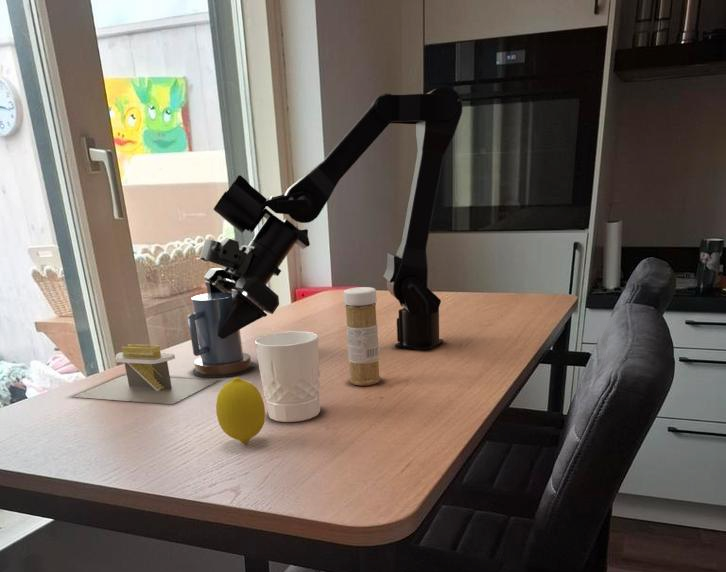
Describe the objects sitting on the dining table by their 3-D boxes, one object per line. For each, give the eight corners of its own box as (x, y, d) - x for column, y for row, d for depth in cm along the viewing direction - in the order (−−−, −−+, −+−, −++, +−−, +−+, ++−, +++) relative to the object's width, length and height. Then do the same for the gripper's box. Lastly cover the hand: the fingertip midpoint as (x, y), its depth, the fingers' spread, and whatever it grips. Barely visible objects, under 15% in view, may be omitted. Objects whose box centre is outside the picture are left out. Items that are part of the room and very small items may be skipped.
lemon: (223, 437, 85) (214, 372, 82) (269, 433, 85) (261, 369, 82) (219, 453, 80) (208, 386, 77) (267, 449, 80) (259, 382, 77)
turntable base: (267, 364, 116) (266, 362, 116) (226, 380, 108) (226, 378, 108) (222, 359, 121) (221, 357, 121) (180, 374, 113) (179, 372, 113)
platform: (172, 404, 98) (164, 358, 96) (72, 396, 105) (62, 353, 102) (218, 380, 109) (212, 338, 106) (124, 375, 115) (116, 335, 112)
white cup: (315, 424, 87) (308, 345, 83) (255, 423, 89) (245, 345, 85) (330, 404, 94) (324, 330, 90) (275, 404, 96) (266, 331, 92)
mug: (219, 359, 120) (209, 290, 115) (262, 362, 116) (253, 292, 111) (176, 375, 112) (164, 302, 107) (220, 380, 107) (209, 304, 103)
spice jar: (371, 376, 106) (367, 285, 100) (385, 383, 102) (381, 288, 97) (344, 381, 104) (338, 289, 99) (357, 388, 100) (351, 292, 95)
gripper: (207, 216, 114) (152, 294, 114) (250, 219, 99) (187, 309, 99) (258, 261, 121) (206, 334, 121) (305, 270, 106) (246, 354, 106)
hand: (210, 332), depth 111 cm, fingers open, 9 cm apart
